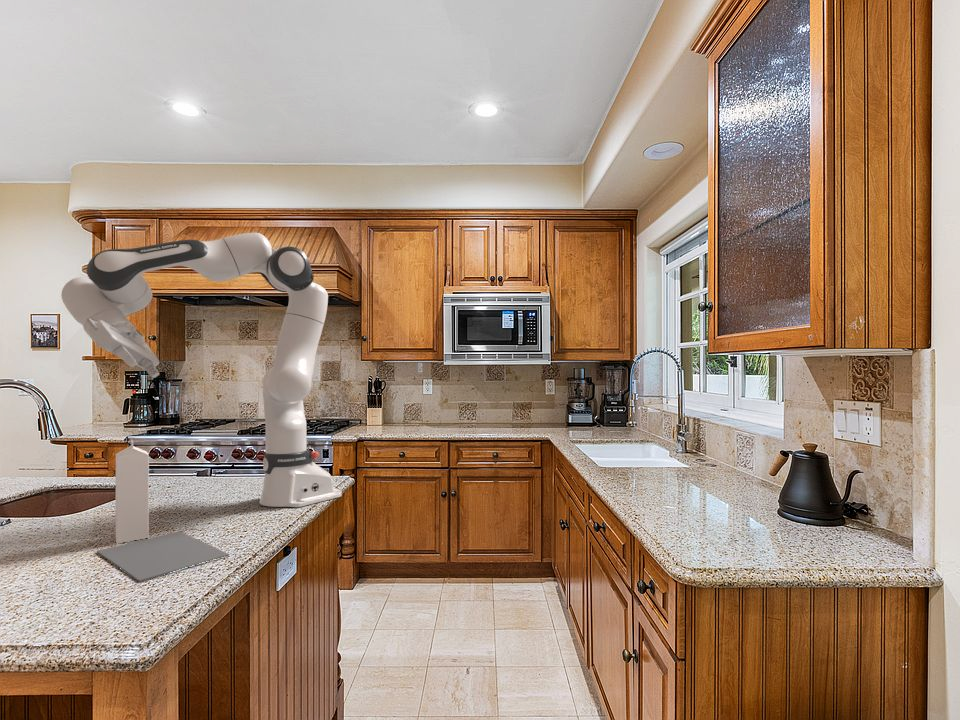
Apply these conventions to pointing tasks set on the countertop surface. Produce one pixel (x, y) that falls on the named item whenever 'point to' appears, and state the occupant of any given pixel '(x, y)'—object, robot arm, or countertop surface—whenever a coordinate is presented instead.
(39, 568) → the countertop surface
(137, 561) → the mat
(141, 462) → the milk
